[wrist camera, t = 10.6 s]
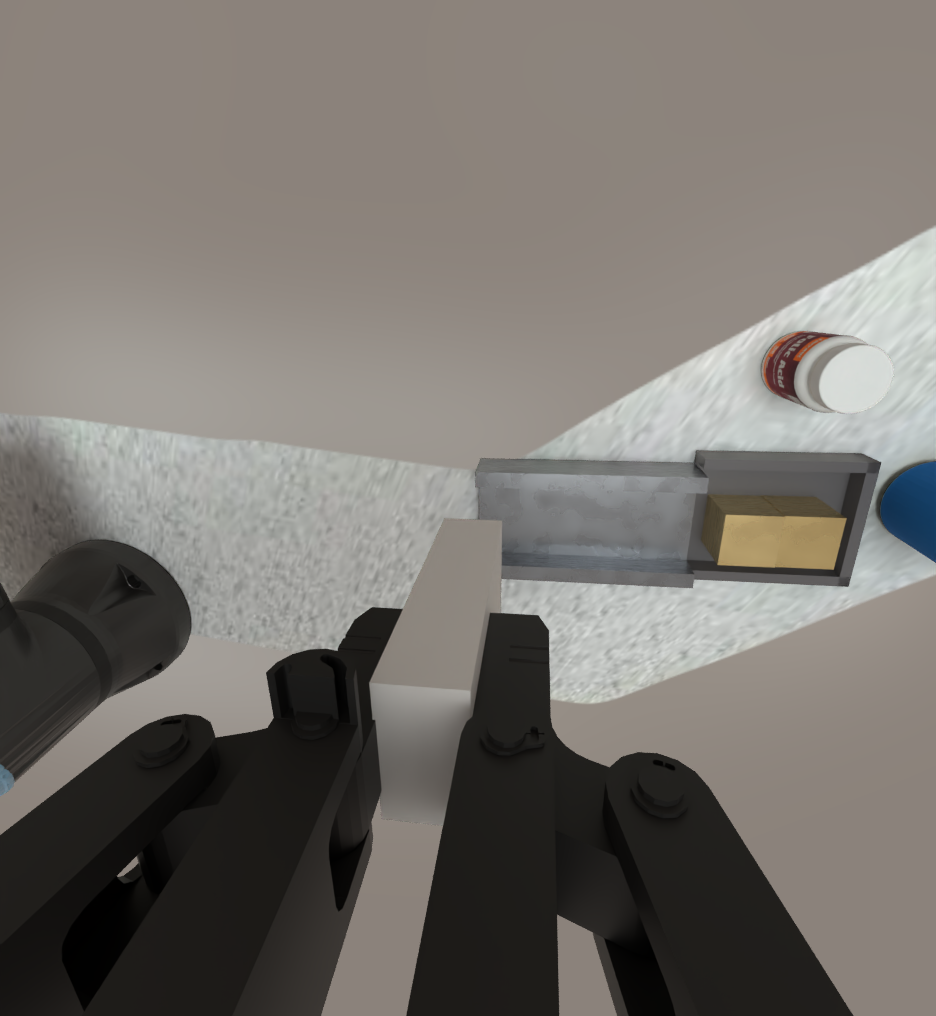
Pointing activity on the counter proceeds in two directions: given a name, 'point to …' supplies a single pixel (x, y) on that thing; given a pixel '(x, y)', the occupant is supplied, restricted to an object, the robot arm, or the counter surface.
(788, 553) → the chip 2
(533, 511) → the slot rail
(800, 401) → the pill bottle
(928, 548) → the beverage can
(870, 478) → the tray
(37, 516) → the counter surface
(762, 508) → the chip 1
